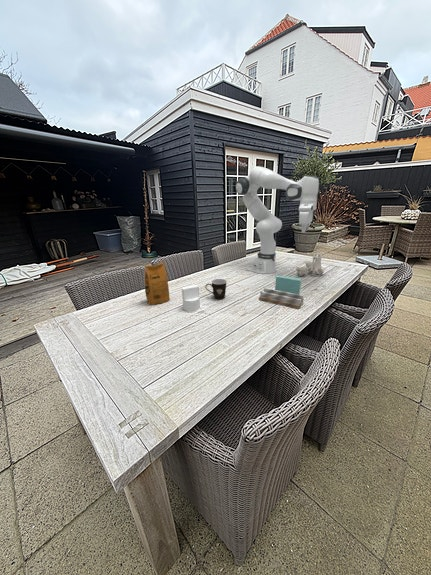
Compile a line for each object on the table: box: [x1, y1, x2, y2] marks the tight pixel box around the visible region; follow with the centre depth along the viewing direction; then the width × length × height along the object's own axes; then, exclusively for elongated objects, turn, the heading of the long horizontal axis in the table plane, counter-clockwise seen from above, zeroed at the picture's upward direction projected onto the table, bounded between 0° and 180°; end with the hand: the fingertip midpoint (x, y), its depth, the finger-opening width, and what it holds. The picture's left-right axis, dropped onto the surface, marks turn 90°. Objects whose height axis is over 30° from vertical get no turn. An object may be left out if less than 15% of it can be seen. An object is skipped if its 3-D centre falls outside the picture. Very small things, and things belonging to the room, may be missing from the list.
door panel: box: [274, 275, 302, 295], centre depth 134 cm, size 14×3×10 cm, turn 58°
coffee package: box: [144, 262, 171, 306], centre depth 127 cm, size 10×12×22 cm
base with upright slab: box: [181, 284, 201, 312], centre depth 120 cm, size 9×9×12 cm
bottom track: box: [258, 287, 305, 310], centre depth 126 cm, size 22×10×4 cm, turn 58°
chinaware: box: [295, 252, 324, 277], centre depth 165 cm, size 28×17×17 cm, turn 144°
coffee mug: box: [204, 278, 228, 301], centre depth 132 cm, size 12×9×10 cm
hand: (305, 231), depth 135 cm, fingers open, 8 cm apart
